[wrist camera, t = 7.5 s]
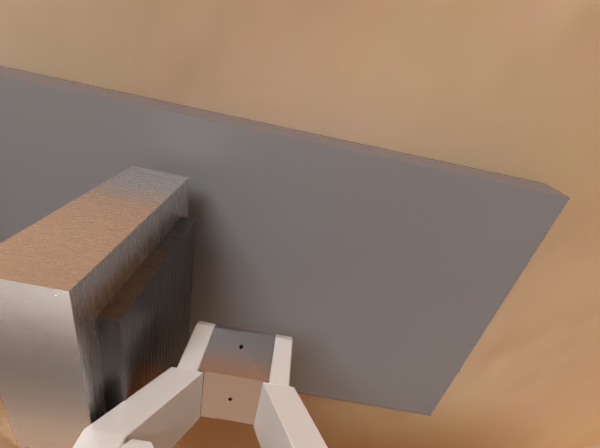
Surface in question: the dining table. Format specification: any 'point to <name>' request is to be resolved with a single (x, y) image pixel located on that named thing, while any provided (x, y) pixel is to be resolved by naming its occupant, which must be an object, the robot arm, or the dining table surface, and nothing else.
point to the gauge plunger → (94, 304)
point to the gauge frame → (296, 231)
